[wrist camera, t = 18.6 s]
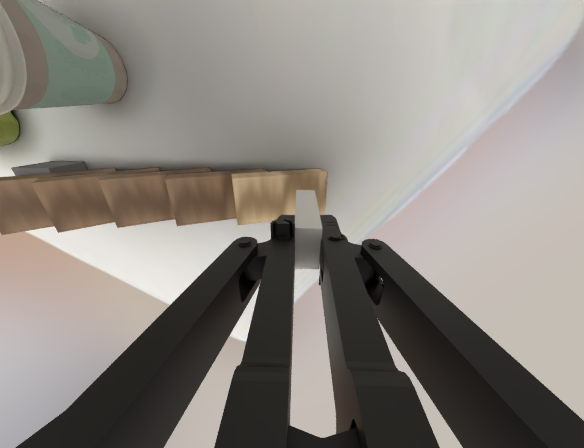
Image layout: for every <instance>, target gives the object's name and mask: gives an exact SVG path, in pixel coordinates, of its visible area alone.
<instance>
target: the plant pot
mask: <svg viewBox="0 0 584 448" xmlns="http://www.w3.org/2000/svg"><path fill="white" fill-rule="evenodd" d="M18 135H19V124H18V121H17V120H16V119H15V118H14V116H13V115H12V114H11V112H8V113H5V114H2V115H0V146H1V145H6V144H10V143H12V142H14V141H15V140H16V139H17V137H18Z"/></svg>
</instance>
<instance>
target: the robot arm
mask: <svg viewBox="0 0 584 448" xmlns="http://www.w3.org/2000/svg"><path fill="white" fill-rule="evenodd" d="M319 266H320V276H319V285H321V290H322V299H323V307H324V316H325V323H326V333H327V341H328V349H329V358H330V366H331V374H332V383H333V391H334V400H335V408H336V434H335V435H332V436H329V437H326V438H320V437H317V436H314V435H312V434H309V433H307V432H304V431H302V430H299V429H297V428H295V427H292V426H290V399H291V367H292V336H293V304H294V270H295V269H319ZM381 278H382V280H383V281H382V280H381ZM260 281H261V282H260ZM259 284H260V287H259V291H258V295H257V299H256V304H255V308H254V312H253V316H252V321H251V325H250V329H249V333H248V338H247V342H246V346H245V350H244V355H243V359H242V362H241V364H240V365H239V366H237V367H236V369H235V371H234V375H233V378H232V381H231V385H230V389H229V393H228V397H227V400H226V405H225V409H224V412H223V416H222V420H221V424H220V428H219V432H218V435H217V439H216V443H215V447H214V448H440V447H439V445H438V443H437V440H436V438H435V436H434V433H433V431H432V428H431V426H430V424H429V421H428V419H427V417H426V414H425V412H424V409H423V407H422V405H421V402H420V400H419V397H418V395H417V393H416V390H415V388H414V386H413V384H412V382H411V380H410V378H409V377H408V376H407V375H406V373H404V372H401V371H399V370H398V369H397V368H396V366H395V364H394V362H393V359H392V356H391V354H390V351H389V349H388V346H387V343H386V340H385V338H384V335H383V332H382V330H381V327H380V325H379V322H378V320H379V321H380V323H381V324H382V326H383V327H384V329H385V330H386V332H387V333H388V335H389V336H390V338H391V339H392V341H393V343H394V344H395V346H396V347H397V349H398V350H399V351H400V353H401V355H402V356H403V358H404V359H405V361H406V362H407V364H408V365H409V367H410V368H411V370H412V371H413V373H414V374H415V376H416V377H417V379H418V380H419V382H420V383H421V385H422V386H423V388H424V389H425V391H426V392H427V394H428V395H429V397H430V398H431V400H432V401H433V403H434V404H435V406H436V407H437V409H438V410H439V412H440V413H441V415H442V417H443V418H444V420H445V421H446V423H447V424H448V426H449V427H450V428H451V430H452V432H453V433H454V435H455V436H456V438H457V439H458V440H459V442H460V444H461V445H462V447H463V448H584V421H583V420H582V419H581V418H580V417H579V416H578V415H577V414H576V413H574V412H573V411H572V410H571V409H570V408H569V407H568V406H567V405H565V404H564V403H563V402H562V401H561V400H560V399H559V398H558V397H557V396H555V395H554V394H553V393H552V392H551V391H550V390H549V389H548V388H546V387H545V386H544V385H543V384H542V383H541V382H540V381H539V380H537V379H536V378H535V377H534V376H533V375H532V374H531V373H530V372H528V370H526V369H525V368H524V367H523V366H522V365H521V364H520V363H518V362H517V361H516V360H515V359H514V358H513V357H512V356H511V355H510V354H508V353H507V352H506V351H505V350H504V349H503V348H502V347H501V346H499V345H498V344H497V343H496V342H495V341H494V340H493V339H492V338H490V337H489V336H488V335H487V334H486V333H485V332H484V331H483V330H482V329H481V328H479V327H478V326H477V325H476V324H475V323H474V322H473V321H471V319H469V318H468V317H467V316H466V315H465V314H464V313H463V312H462V311H460V310H459V309H458V308H457V307H456V306H455V305H454V304H453V303H452V302H450V301H449V300H448V299H447V298H446V297H445V296H444V295H443V294H442V293H440V292H439V291H438V290H437V289H436V288H435V287H434V286H433V285H431V284H430V283H429V282H428V281H427V280H426V279H425V278H424V277H422V276H421V275H420V274H419V273H418V272H417V271H416V270H415V269H414V268H412V267H411V266H410V265H409V264H408V263H407V262H406V261H404V259H402V258H401V257H400V256H399V255H398V254H397V253H396V252H395V251H393V250H392V249H391V248H390V247H389V246H388V245H387V244H385V243H384V242H382V241H379V240H377V239H376V240H375V239H367V240H364V241H363V242H362V245H357V244H353V243H350V242H348V240H347V238H346V236H345V235H343V234H341V232H340V229H339V226H338V223H337V220H336V218H335V217H333V216H332V215H320V214H319V209H318V204H317V199H316V194H315V190H296V207H295V215H280V216H279V217H278V219H276V220H274V221H272V222H271V240H269V241H267V242H263V243H257V240H256V239H255V238H252V237H241V238H239V239H236V240H235V241H234V242H233V243H232V244H231V245H230V246H229V247H228V248H227V249H226V250H225V251H224V252H223V253H222V254H221V255H220V256H219V257H218V258H217V259H216V260H215V261H214V262H213V263H212V264H211V265H210V266H209V267H208V268H207V269H206V270H205V271H204V272H203V273H202V274H201V275H200V276H199V277H198V278H197V279H196V280H195V281H194V282H193V283H192V284H191V285H190V286H189V287H188V288H187V289H186V290H185V291H184V292H183V293H182V294H181V295H180V296H179V297H178V298H177V299H176V300H175V301H174V302H173V303H172V304H171V305H170V306H169V307H168V308H167V309H166V310H165V311H164V312H163V313H162V314H161V315H160V316H159V317H158V318H157V319H156V320H155V321H154V322H153V323H152V324H151V325H150V326H149V327H148V328H147V329H146V330H145V331H144V332H143V333H142V334H141V335H140V336H139V337H138V338H137V339H136V340H135V341H134V342H133V343H132V344H131V345H130V346H129V347H128V348H127V349H126V350H125V351H124V352H123V353H122V354H121V355H120V356H119V357H118V358H117V359H116V360H115V361H114V362H113V363H112V364H111V365H110V366H109V368H107V370H105V371H104V372H103V373H102V374H101V375H100V376H99V377H98V378H97V379H96V380H95V381H94V382H93V383H92V384H91V385H90V386H89V387H88V388H87V389H86V391H84V392H83V393H82V395H81V396H79V397H78V399H76V400H75V402H74V403H73V404H72V405H71V406H70V407H69V408H68V409H67V410H66V411H64V412H63V413H62V414H60V415H59V416H58V417H56V418H55V419H54V420H52V421H51V422H49V423H48V424H47V425H46V426H44V427H43V428H41V429H40V430H39V431H37V432H36V433H35V434H33V435H32V436H31V437H29V438H28V439H27V440H25V441H24V442H23V443H21V444H20V445H18V446H17V447H16V448H164V446H165V444H166V442H167V441H168V439H169V437H170V436H171V434H172V432H173V431H174V429H175V427H176V426H177V424H178V422H179V420H180V419H181V417H182V415H183V414H184V412H185V410H186V409H187V407H188V405H189V403H190V402H191V400H192V398H193V397H194V395H195V393H196V391H197V390H198V388H199V386H200V385H201V383H202V381H203V380H204V378H205V376H206V374H207V373H208V371H209V369H210V367H211V366H212V364H213V362H214V361H215V359H216V357H217V356H218V354H219V352H220V351H221V349H222V347H223V345H224V344H225V342H226V340H227V339H228V337H229V335H230V334H231V332H232V330H233V328H234V327H235V325H236V323H237V322H238V320H239V318H240V316H241V315H242V313H243V311H244V310H245V308H246V306H247V305H248V303H249V301H250V299H251V298H252V296H253V294H254V293H255V291H256V289H257V287H258V286H259ZM377 318H378V319H377Z"/></svg>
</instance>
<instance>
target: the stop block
mask: <svg viewBox="0 0 584 448" xmlns="http://www.w3.org/2000/svg"><path fill="white" fill-rule="evenodd" d="M12 170H13V172H14V174H15V175H16V176H24V175H36V174H49V173H61V172H74V171H86V170H88V169H87V167H86V164H85V162H77V161H50V162H44V163H38V164H32V165H26V166H19V167H13V168H12Z"/></svg>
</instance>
